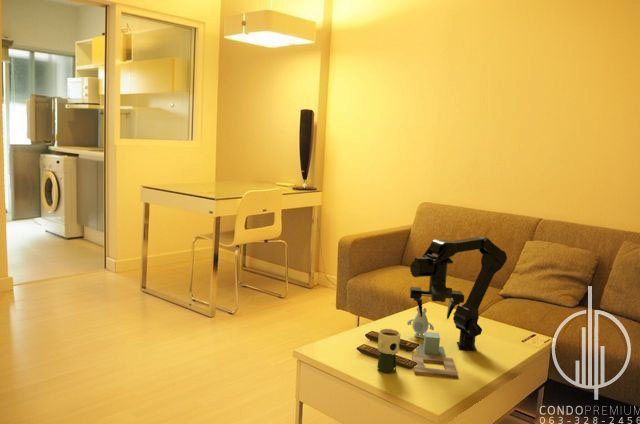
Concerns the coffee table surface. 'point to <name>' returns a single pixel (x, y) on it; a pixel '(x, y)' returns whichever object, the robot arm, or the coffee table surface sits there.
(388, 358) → the character mug
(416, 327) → the toy figure
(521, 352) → the coffee table surface
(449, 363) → the walnut pocket plate
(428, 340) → the slate block
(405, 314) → the coffee table surface
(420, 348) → the rubber mat
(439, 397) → the coffee table surface
